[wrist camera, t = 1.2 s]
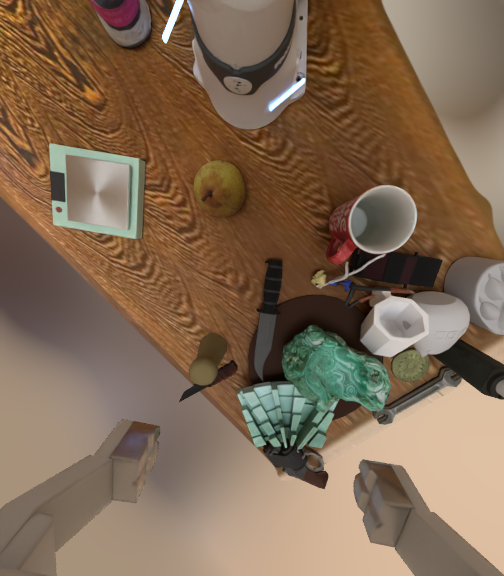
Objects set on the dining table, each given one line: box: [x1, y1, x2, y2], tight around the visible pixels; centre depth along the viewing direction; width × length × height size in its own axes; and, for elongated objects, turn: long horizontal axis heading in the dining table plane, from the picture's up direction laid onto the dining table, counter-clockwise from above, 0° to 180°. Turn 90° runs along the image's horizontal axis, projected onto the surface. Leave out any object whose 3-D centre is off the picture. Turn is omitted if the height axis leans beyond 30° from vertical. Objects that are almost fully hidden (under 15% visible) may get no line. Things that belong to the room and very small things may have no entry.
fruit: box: [194, 160, 245, 217], centre depth 39 cm, size 9×9×12 cm
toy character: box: [403, 291, 470, 357], centre depth 45 cm, size 10×10×12 cm
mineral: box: [282, 325, 391, 413], centre depth 44 cm, size 18×16×10 cm
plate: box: [248, 295, 383, 420], centre depth 51 cm, size 28×28×4 cm
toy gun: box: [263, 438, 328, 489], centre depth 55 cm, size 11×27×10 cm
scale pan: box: [66, 154, 131, 230], centre depth 43 cm, size 11×11×1 cm
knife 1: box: [179, 360, 237, 402], centre depth 55 cm, size 17×1×3 cm
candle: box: [432, 339, 504, 399], centre depth 39 cm, size 5×5×25 cm
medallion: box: [391, 349, 430, 382], centre depth 52 cm, size 8×8×1 cm
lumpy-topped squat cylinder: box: [444, 257, 504, 335], centre depth 43 cm, size 10×13×9 cm
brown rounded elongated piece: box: [189, 334, 227, 385], centre depth 48 cm, size 6×6×11 cm
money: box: [237, 381, 339, 449], centre depth 49 cm, size 20×16×5 cm
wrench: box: [373, 367, 462, 425], centre depth 53 cm, size 5×2×20 cm
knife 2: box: [254, 261, 282, 381], centre depth 48 cm, size 25×2×5 cm
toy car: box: [349, 247, 442, 288], centre depth 44 cm, size 7×16×5 cm, turn 82°
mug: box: [326, 185, 417, 265], centre depth 39 cm, size 13×9×14 cm
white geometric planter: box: [360, 286, 429, 357], centre depth 44 cm, size 12×9×10 cm
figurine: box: [311, 254, 415, 308], centre depth 41 cm, size 10×9×20 cm
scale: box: [49, 143, 145, 239], centre depth 45 cm, size 14×16×3 cm
